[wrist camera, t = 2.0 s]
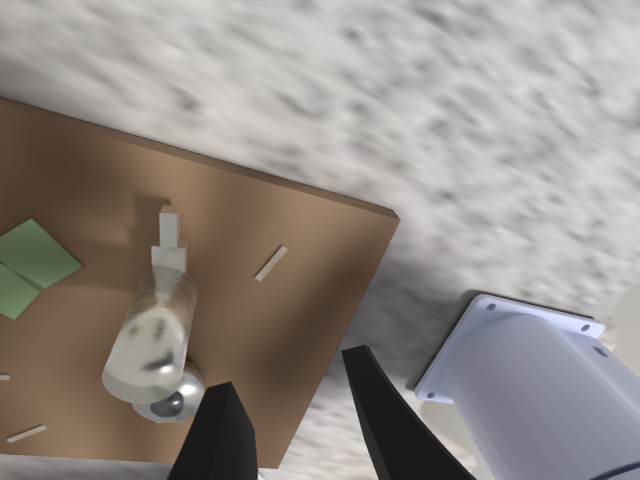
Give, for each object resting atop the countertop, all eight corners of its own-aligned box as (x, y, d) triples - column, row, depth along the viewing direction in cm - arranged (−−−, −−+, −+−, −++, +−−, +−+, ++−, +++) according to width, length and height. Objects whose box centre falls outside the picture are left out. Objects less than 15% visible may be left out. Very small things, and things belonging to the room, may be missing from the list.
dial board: (393, 210, 18) (401, 221, 17) (276, 453, 25) (277, 470, 24) (-43, 84, 13) (-67, 89, 12) (-27, 433, 20) (-40, 453, 19)
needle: (204, 409, 20) (192, 518, 16) (138, 410, 19) (105, 525, 15) (216, 209, 15) (201, 289, 10) (125, 201, 14) (68, 282, 10)
